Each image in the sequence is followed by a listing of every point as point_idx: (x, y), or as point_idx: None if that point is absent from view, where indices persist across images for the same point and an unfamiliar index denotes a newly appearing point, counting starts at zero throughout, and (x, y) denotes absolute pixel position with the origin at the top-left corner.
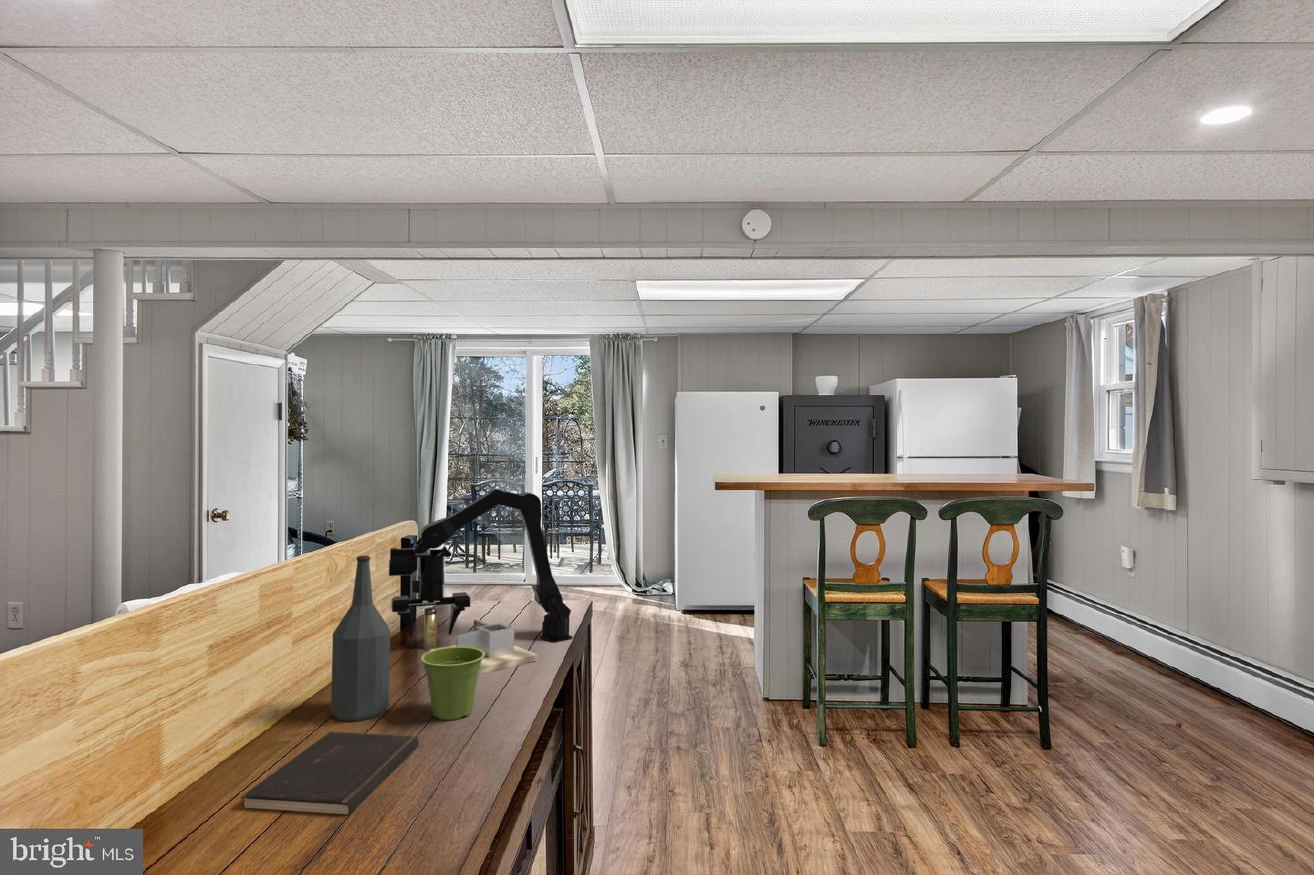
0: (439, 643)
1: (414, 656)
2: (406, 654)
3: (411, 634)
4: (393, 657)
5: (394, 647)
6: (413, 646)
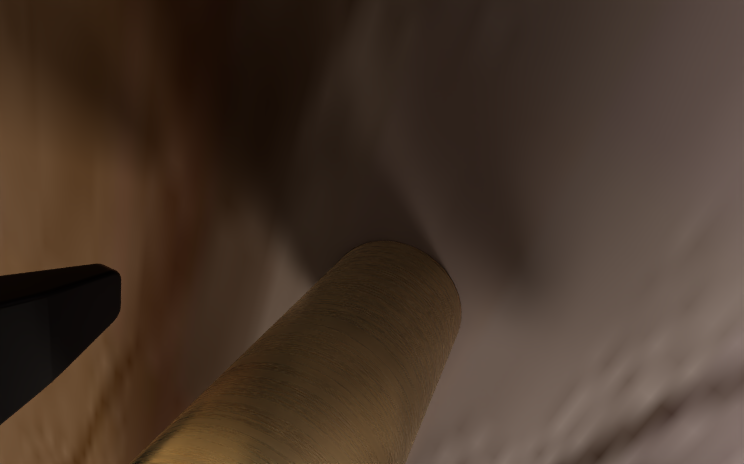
0: (589, 181)
1: None
2: (166, 324)
3: (67, 352)
4: None
5: (93, 23)
6: (264, 110)
